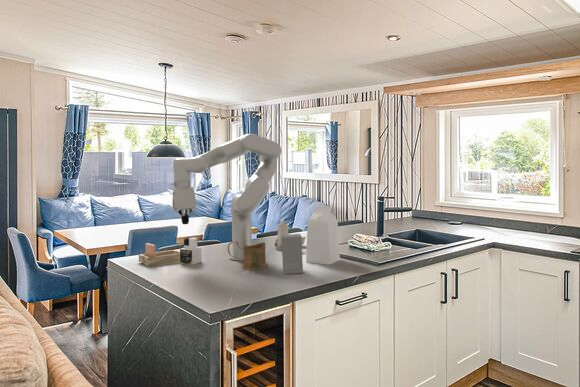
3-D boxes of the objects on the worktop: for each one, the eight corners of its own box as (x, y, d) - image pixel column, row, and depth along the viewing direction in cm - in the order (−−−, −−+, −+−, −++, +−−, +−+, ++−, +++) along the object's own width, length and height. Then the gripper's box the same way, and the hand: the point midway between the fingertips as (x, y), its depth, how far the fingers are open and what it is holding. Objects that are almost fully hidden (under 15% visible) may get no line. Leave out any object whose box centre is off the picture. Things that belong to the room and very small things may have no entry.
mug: (225, 266, 199) (225, 240, 199) (263, 263, 205) (262, 237, 205) (231, 272, 188) (230, 243, 188) (271, 268, 194) (270, 241, 194)
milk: (340, 259, 211) (339, 205, 210) (329, 264, 201) (328, 206, 200) (317, 257, 217) (316, 204, 216) (306, 262, 207) (305, 206, 206)
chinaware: (299, 256, 229) (302, 224, 228) (267, 253, 231) (270, 221, 230) (306, 247, 257) (308, 219, 256) (277, 244, 259) (280, 216, 258)
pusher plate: (155, 262, 206) (155, 245, 206) (153, 262, 205) (152, 245, 205) (148, 259, 213) (147, 243, 213) (145, 260, 212) (145, 243, 212)
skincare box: (302, 270, 189) (301, 233, 189) (303, 274, 182) (302, 235, 181) (282, 270, 189) (281, 233, 188) (282, 274, 182) (281, 236, 181)
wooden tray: (185, 261, 214) (185, 252, 213) (148, 266, 202) (148, 257, 202) (174, 257, 223) (174, 249, 223) (138, 262, 212) (138, 254, 211)
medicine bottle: (179, 263, 207) (179, 238, 207) (190, 261, 214) (189, 236, 213) (192, 265, 204) (191, 239, 204) (201, 262, 210) (201, 237, 210)
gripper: (170, 185, 200) (173, 226, 201) (201, 183, 209) (203, 222, 210) (164, 185, 206) (167, 225, 207) (194, 183, 215) (196, 221, 216)
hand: (185, 223), depth 209 cm, fingers closed
